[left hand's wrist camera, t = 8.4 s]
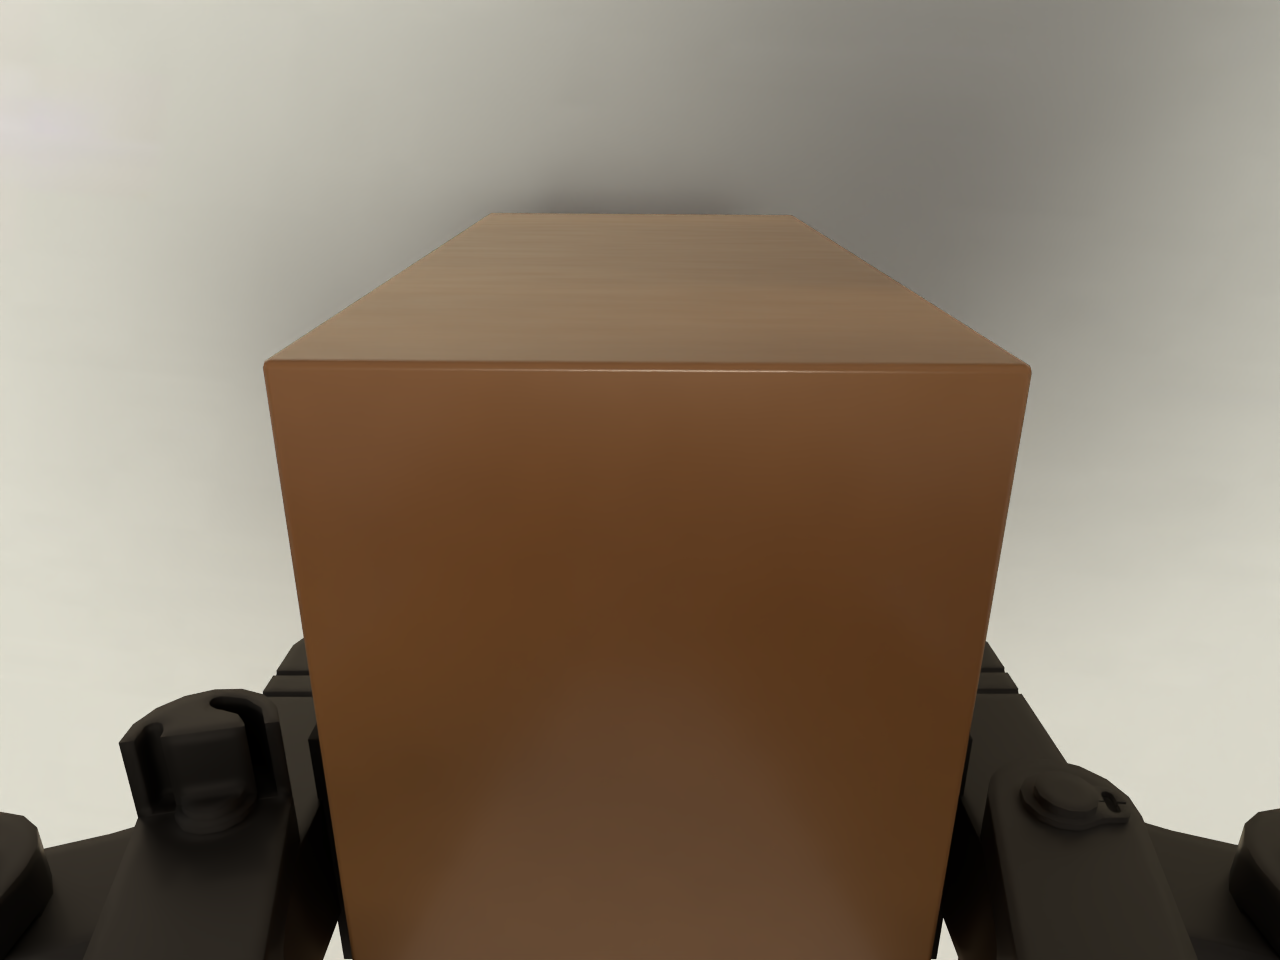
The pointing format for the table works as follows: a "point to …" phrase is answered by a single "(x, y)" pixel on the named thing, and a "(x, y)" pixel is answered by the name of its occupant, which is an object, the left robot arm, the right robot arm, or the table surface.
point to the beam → (644, 590)
